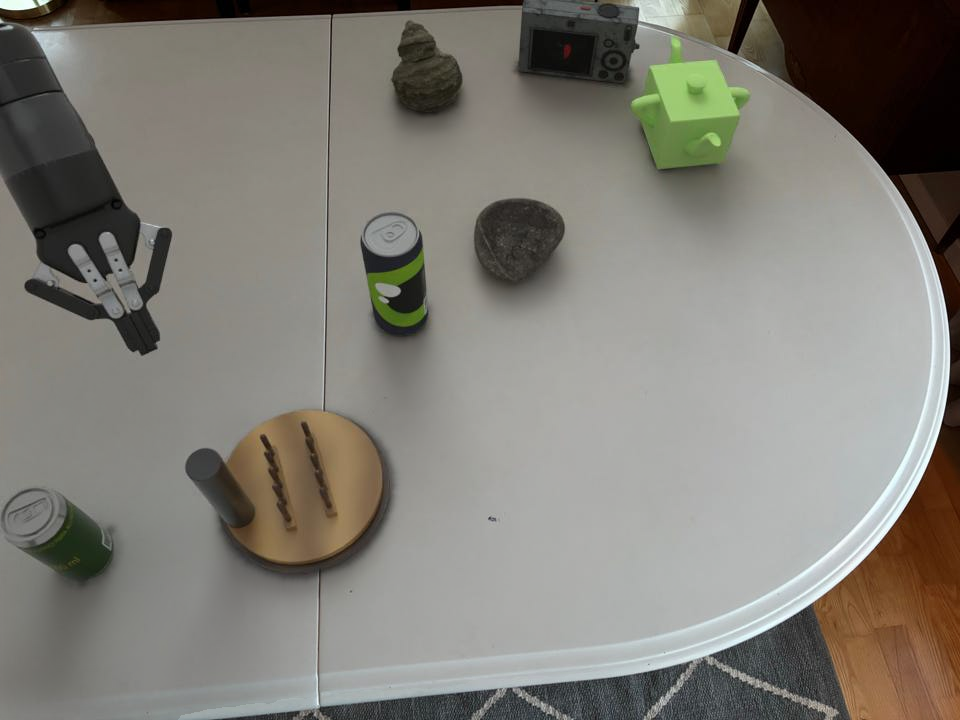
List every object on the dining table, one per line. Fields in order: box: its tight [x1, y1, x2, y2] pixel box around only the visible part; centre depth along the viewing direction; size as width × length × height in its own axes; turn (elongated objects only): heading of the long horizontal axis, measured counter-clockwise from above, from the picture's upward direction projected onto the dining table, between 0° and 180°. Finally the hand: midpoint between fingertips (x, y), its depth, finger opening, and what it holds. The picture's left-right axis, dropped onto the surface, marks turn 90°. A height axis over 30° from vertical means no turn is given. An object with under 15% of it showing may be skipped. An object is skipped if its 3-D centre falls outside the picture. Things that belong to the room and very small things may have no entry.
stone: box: [473, 197, 566, 283], centre depth 94 cm, size 11×11×5 cm
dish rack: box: [184, 409, 383, 565], centre depth 74 cm, size 16×16×13 cm
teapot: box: [630, 35, 751, 170], centre depth 101 cm, size 15×13×11 cm
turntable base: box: [219, 413, 390, 575], centre depth 80 cm, size 17×17×1 cm
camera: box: [517, 0, 641, 84], centre depth 109 cm, size 16×4×10 cm, turn 81°
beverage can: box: [359, 210, 429, 337], centre depth 85 cm, size 6×6×15 cm
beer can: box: [0, 484, 114, 581], centre depth 72 cm, size 5×5×12 cm
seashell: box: [390, 19, 463, 114], centre depth 106 cm, size 11×12×10 cm
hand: (150, 351), depth 70 cm, fingers closed
